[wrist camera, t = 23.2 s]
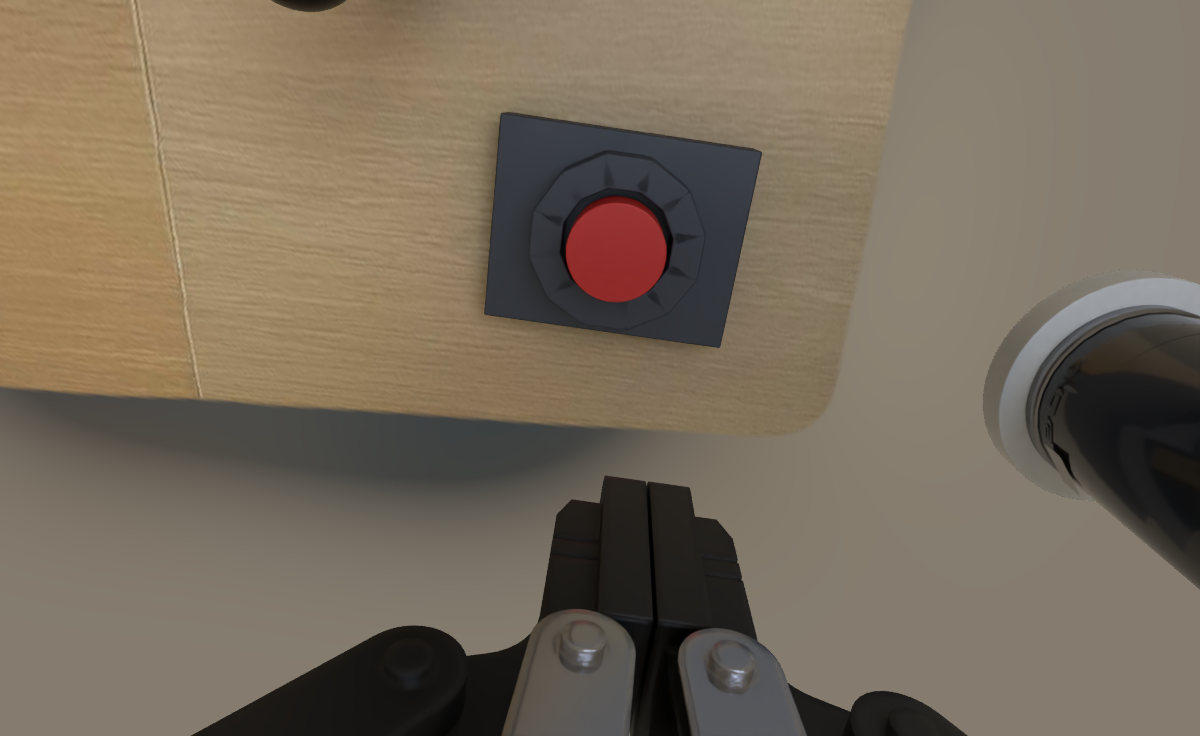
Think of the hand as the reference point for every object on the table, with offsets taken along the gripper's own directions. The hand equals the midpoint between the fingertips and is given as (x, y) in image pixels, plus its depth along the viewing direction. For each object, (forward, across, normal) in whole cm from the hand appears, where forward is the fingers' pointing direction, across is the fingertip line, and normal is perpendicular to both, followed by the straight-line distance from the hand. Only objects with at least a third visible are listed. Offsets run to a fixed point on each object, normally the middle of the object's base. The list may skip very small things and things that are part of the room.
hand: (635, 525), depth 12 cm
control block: (+19, +1, -2) cm, 19 cm away
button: (+16, +1, -2) cm, 16 cm away
